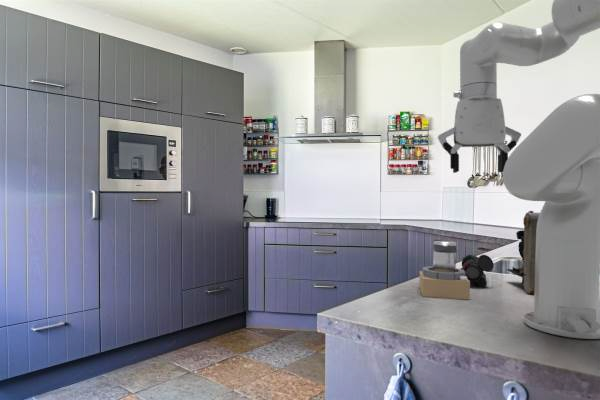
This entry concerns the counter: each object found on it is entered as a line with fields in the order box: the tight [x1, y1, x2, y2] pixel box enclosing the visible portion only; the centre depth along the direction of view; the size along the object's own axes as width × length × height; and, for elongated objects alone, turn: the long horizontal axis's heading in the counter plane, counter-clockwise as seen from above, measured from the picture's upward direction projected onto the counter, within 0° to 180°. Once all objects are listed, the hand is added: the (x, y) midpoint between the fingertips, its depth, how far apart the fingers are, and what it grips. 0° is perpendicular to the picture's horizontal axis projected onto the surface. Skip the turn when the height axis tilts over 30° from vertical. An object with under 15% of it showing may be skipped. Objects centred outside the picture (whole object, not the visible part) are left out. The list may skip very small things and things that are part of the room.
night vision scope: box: [460, 254, 495, 289], centre depth 112 cm, size 8×18×10 cm
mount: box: [418, 265, 471, 300], centre depth 98 cm, size 10×10×6 cm
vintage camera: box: [506, 210, 540, 295], centre depth 105 cm, size 10×16×20 cm, turn 174°
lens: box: [432, 240, 458, 273], centre depth 98 cm, size 5×5×8 cm
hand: (478, 171), depth 93 cm, fingers open, 9 cm apart
